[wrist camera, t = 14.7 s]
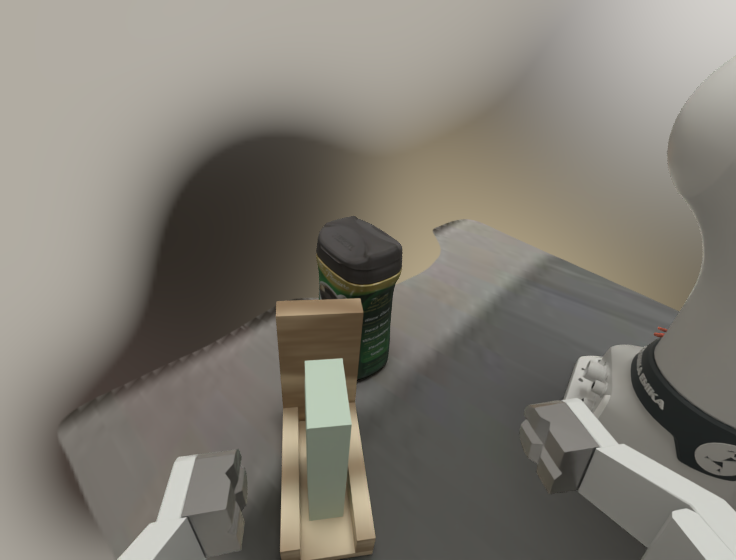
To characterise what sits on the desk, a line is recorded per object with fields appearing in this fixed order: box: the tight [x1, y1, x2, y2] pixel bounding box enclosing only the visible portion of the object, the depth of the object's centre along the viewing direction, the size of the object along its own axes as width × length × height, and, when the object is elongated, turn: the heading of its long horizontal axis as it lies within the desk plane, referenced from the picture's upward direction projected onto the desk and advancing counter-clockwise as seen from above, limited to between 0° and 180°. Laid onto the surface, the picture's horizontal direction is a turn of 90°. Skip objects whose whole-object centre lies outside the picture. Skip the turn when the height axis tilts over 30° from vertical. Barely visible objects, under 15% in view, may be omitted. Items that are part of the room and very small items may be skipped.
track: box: [276, 298, 375, 560], centre depth 34 cm, size 15×8×16 cm, turn 9°
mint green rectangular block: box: [305, 358, 352, 521], centre depth 33 cm, size 6×3×14 cm, turn 9°
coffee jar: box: [316, 216, 402, 379], centre depth 46 cm, size 10×8×19 cm
